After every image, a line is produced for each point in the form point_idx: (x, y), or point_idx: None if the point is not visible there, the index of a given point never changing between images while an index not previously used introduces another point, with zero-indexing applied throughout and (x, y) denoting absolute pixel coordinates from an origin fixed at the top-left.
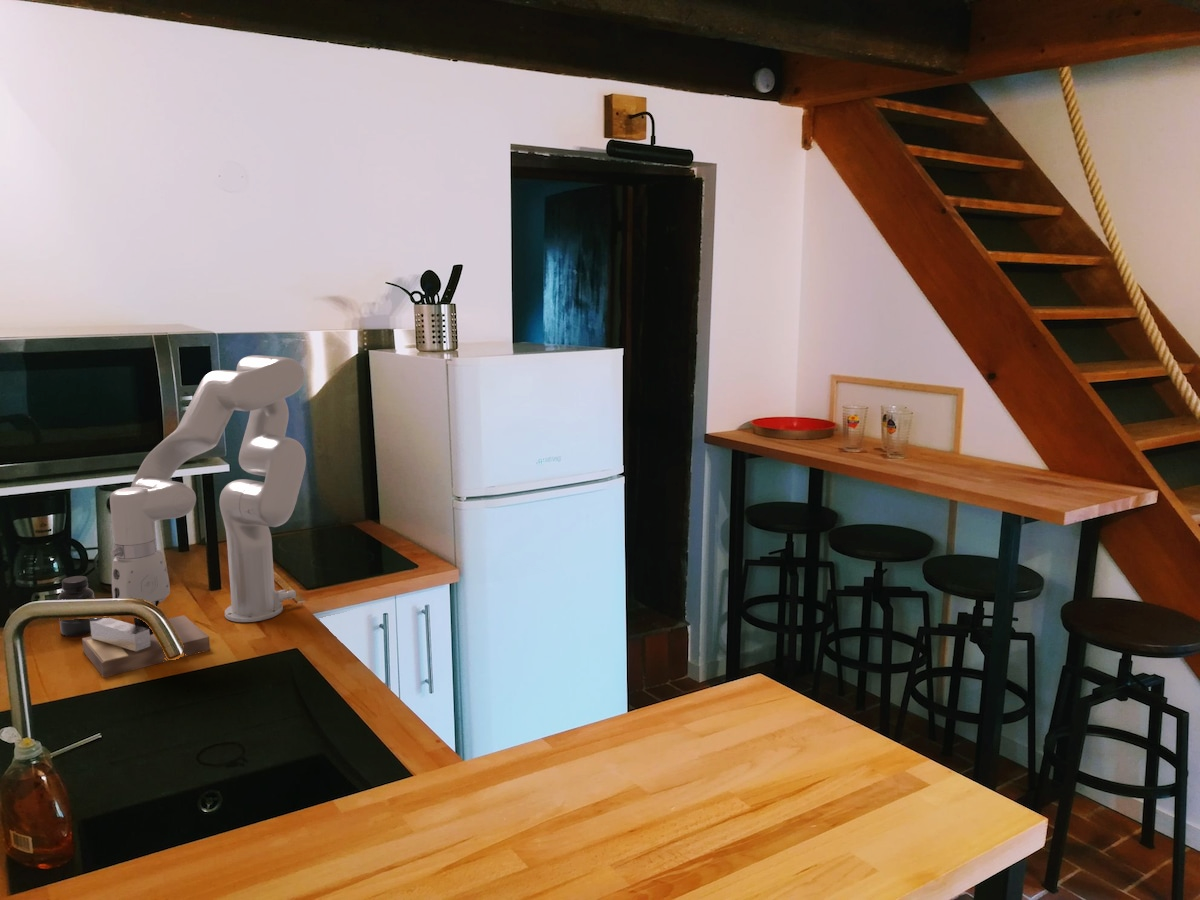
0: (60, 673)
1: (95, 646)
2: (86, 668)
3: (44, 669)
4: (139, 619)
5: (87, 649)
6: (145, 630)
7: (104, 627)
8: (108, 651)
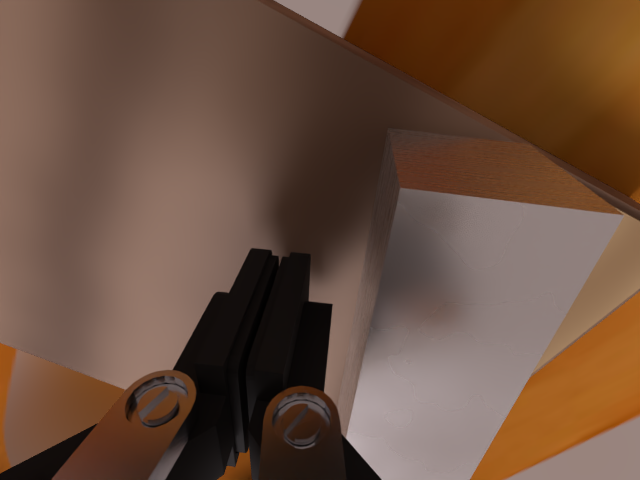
0: (588, 384)
1: None
2: None
3: (555, 440)
4: (320, 404)
5: None
6: (454, 195)
7: None
8: None
